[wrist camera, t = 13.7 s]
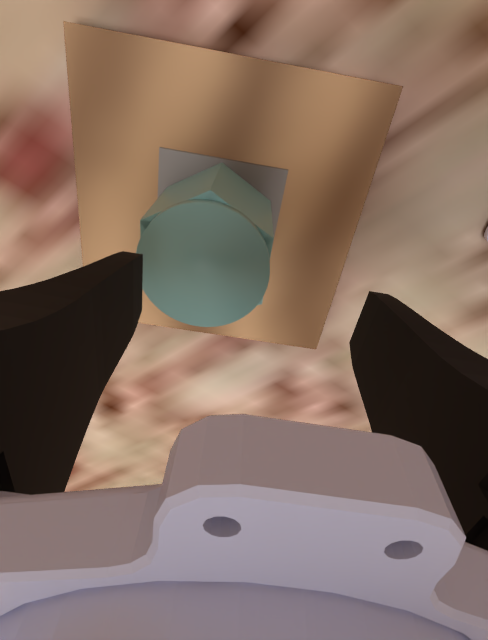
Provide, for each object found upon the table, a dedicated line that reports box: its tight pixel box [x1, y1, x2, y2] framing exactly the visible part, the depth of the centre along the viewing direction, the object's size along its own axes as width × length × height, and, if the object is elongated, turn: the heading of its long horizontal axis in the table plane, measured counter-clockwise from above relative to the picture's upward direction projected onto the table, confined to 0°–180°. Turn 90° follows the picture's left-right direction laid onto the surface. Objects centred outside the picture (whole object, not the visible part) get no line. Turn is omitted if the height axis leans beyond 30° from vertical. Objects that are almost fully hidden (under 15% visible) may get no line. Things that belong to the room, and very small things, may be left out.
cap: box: [136, 163, 274, 327], centre depth 17 cm, size 5×6×6 cm
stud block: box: [63, 21, 403, 349], centre depth 18 cm, size 14×14×5 cm
